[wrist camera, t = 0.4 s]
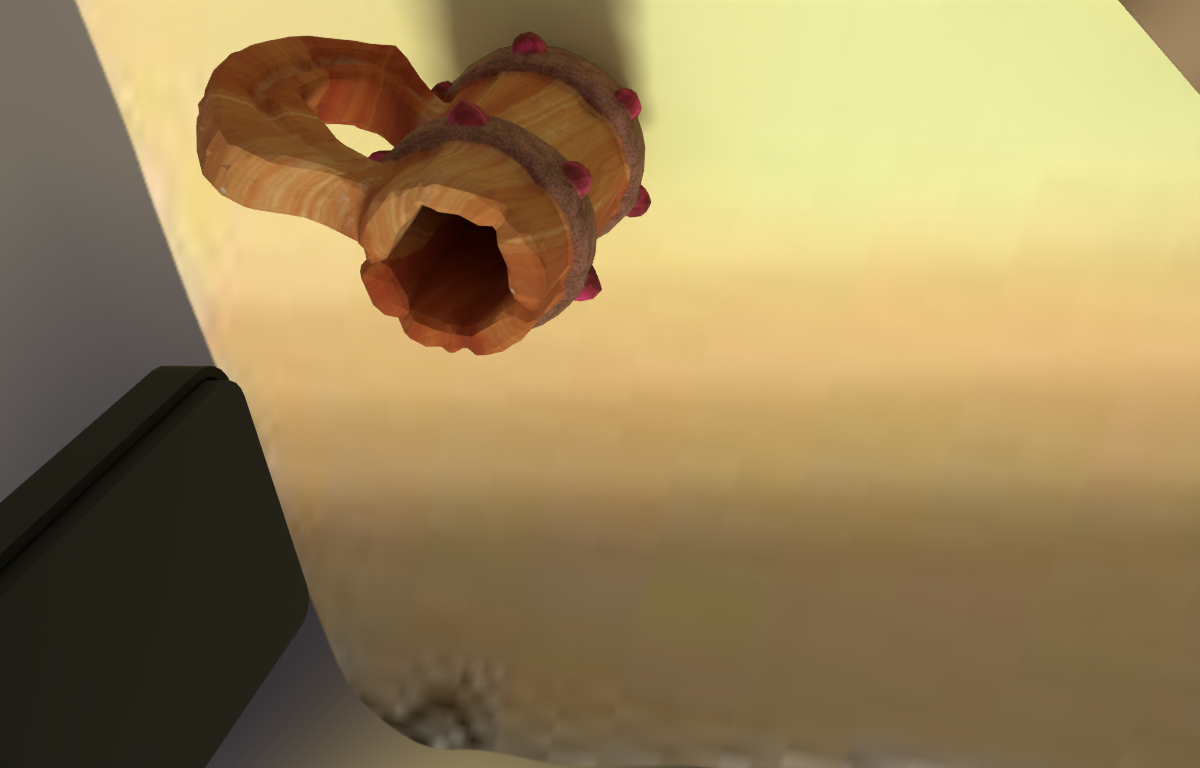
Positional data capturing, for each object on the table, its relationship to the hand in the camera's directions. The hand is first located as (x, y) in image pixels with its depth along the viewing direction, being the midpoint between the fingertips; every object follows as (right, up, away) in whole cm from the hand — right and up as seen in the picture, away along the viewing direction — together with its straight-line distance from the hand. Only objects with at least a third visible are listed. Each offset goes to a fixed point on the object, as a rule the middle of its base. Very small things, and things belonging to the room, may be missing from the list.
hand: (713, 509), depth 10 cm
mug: (-5, +13, +37) cm, 40 cm away
